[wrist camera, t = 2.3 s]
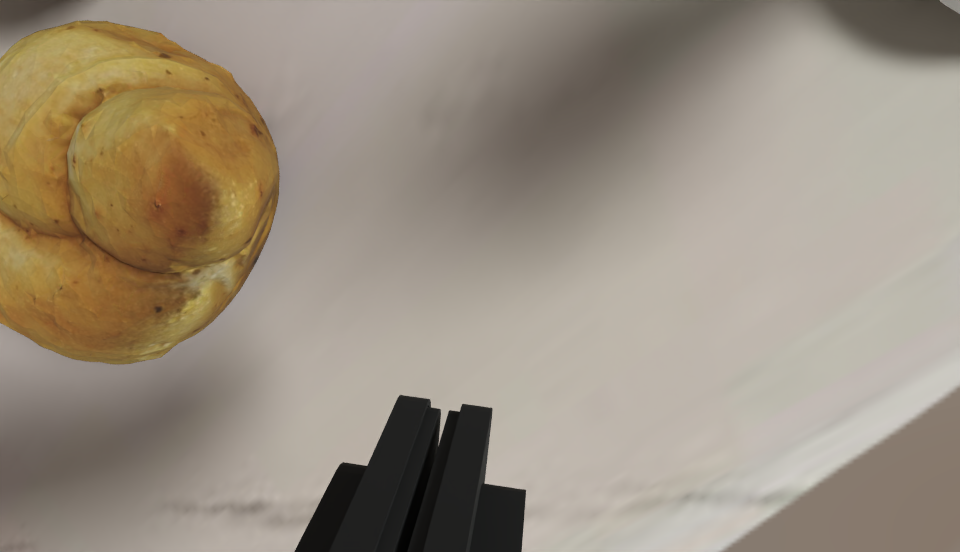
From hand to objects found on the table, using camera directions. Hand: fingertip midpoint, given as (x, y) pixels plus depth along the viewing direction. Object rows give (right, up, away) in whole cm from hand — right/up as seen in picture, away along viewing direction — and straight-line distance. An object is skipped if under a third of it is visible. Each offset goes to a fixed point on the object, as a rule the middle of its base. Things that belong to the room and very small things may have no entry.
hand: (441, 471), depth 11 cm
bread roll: (-11, +7, +13) cm, 19 cm away
